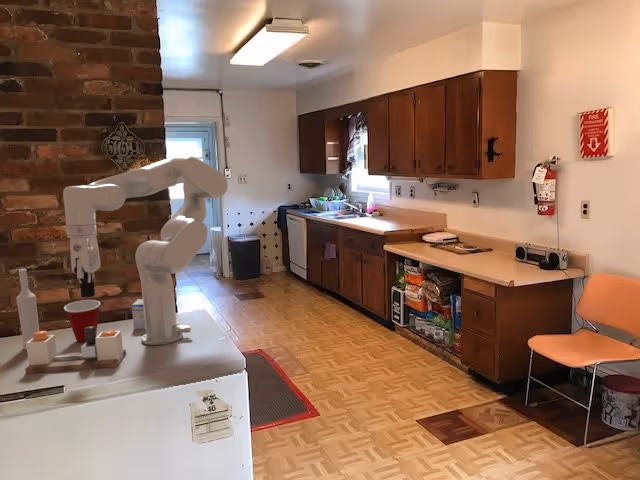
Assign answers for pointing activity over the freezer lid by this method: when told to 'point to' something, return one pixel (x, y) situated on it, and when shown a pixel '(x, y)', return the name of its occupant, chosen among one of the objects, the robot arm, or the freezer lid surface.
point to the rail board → (72, 363)
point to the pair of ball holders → (47, 351)
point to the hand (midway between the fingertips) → (88, 296)
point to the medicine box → (138, 315)
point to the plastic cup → (82, 317)
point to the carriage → (89, 343)
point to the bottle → (27, 309)
